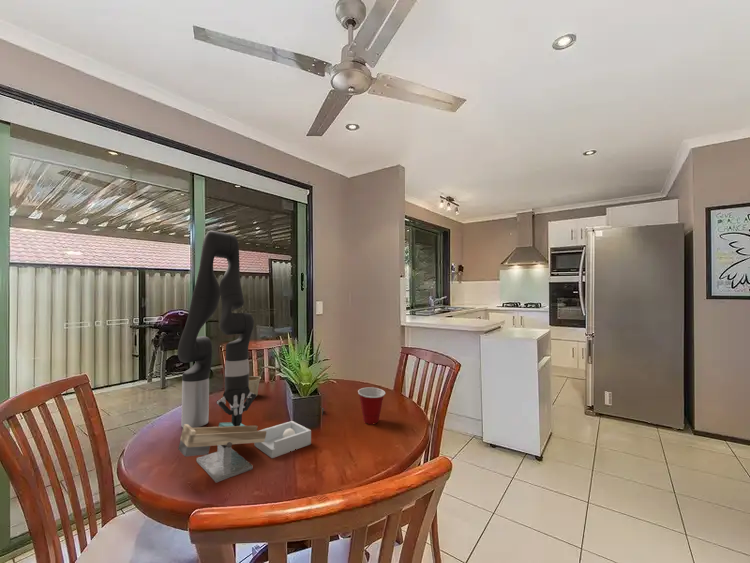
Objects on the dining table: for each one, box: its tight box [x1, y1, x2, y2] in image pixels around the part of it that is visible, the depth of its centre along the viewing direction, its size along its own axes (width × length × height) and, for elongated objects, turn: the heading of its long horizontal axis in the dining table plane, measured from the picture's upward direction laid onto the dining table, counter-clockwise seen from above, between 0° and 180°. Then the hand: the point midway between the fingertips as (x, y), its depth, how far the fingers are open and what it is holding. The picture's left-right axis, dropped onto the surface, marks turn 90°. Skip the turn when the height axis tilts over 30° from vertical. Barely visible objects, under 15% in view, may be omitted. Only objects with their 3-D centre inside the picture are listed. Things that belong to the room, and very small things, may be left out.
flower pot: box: [249, 375, 262, 397], centre depth 166 cm, size 9×9×9 cm
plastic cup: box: [357, 386, 386, 425], centre depth 132 cm, size 11×11×12 cm
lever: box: [178, 421, 266, 457], centre depth 103 cm, size 20×22×6 cm
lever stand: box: [196, 445, 253, 484], centre depth 99 cm, size 16×10×6 cm, turn 44°
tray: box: [253, 420, 312, 459], centre depth 112 cm, size 12×14×4 cm
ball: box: [283, 428, 295, 438], centre depth 114 cm, size 4×4×4 cm
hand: (236, 425), depth 112 cm, fingers closed
